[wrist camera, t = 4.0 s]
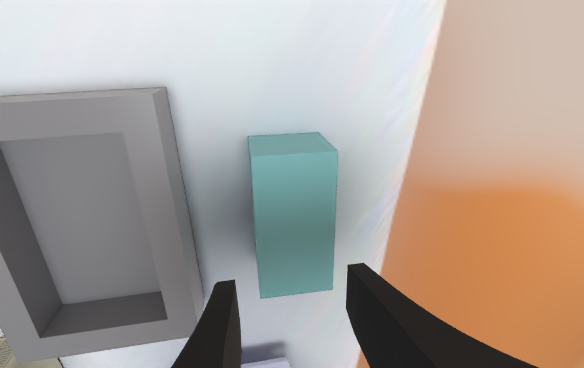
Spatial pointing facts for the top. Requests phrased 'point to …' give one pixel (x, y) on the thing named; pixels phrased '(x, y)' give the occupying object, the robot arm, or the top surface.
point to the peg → (293, 212)
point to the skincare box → (3, 363)
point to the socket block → (93, 224)
